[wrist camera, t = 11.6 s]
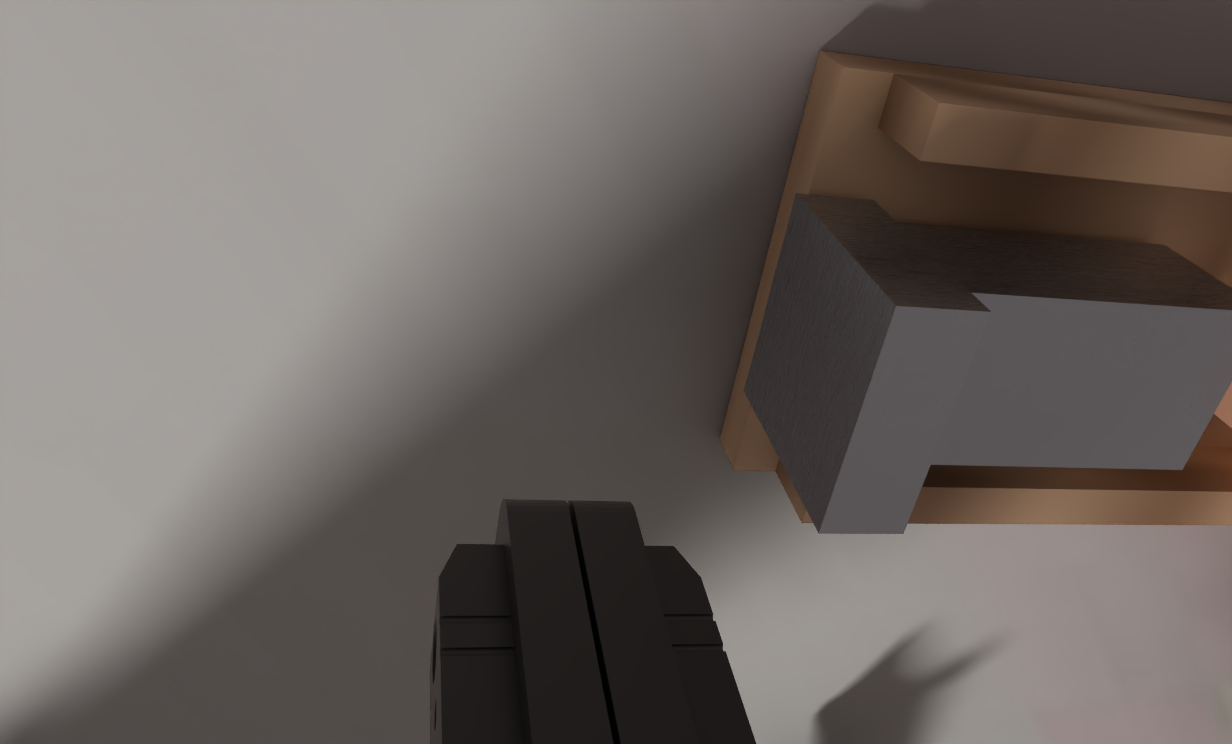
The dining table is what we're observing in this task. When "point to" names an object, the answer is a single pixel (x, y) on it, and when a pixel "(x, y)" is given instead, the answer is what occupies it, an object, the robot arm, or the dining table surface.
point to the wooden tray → (1027, 203)
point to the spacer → (1225, 407)
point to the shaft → (975, 356)
